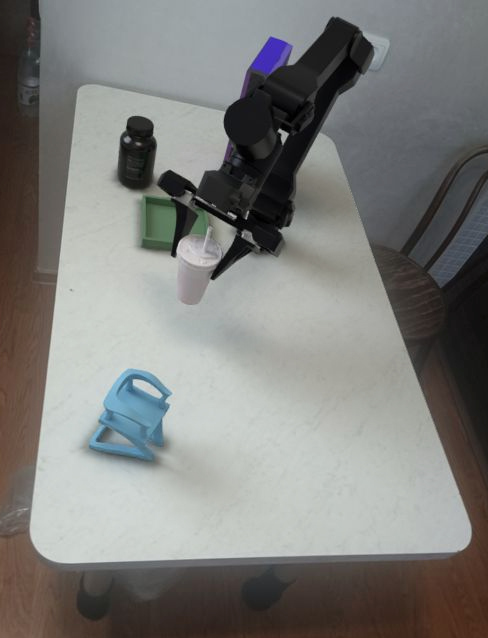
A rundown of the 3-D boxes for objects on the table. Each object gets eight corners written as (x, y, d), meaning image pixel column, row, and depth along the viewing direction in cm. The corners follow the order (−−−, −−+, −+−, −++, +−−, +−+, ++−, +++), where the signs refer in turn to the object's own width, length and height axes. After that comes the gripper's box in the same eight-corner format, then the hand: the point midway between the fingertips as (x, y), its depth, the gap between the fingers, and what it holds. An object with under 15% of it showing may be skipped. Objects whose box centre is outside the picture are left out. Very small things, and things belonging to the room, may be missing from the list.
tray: (204, 211, 105) (206, 203, 103) (209, 255, 98) (211, 247, 96) (141, 202, 102) (142, 194, 100) (141, 247, 95) (142, 238, 93)
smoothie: (198, 318, 79) (217, 250, 68) (160, 298, 80) (173, 227, 69) (217, 292, 83) (238, 224, 72) (181, 273, 84) (196, 202, 73)
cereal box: (240, 144, 122) (270, 35, 104) (259, 152, 123) (293, 44, 104) (217, 184, 111) (247, 69, 93) (238, 193, 111) (272, 80, 93)
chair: (143, 476, 70) (155, 432, 61) (87, 446, 70) (90, 398, 61) (171, 430, 75) (185, 383, 66) (118, 403, 75) (125, 352, 66)
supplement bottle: (159, 181, 107) (167, 126, 98) (136, 194, 103) (143, 138, 94) (132, 163, 108) (138, 107, 99) (109, 176, 104) (113, 119, 95)
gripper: (173, 113, 67) (113, 225, 68) (304, 185, 64) (239, 298, 66) (195, 143, 78) (143, 239, 79) (307, 206, 75) (252, 302, 77)
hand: (191, 268), depth 75 cm, fingers closed on smoothie, 6 cm apart
